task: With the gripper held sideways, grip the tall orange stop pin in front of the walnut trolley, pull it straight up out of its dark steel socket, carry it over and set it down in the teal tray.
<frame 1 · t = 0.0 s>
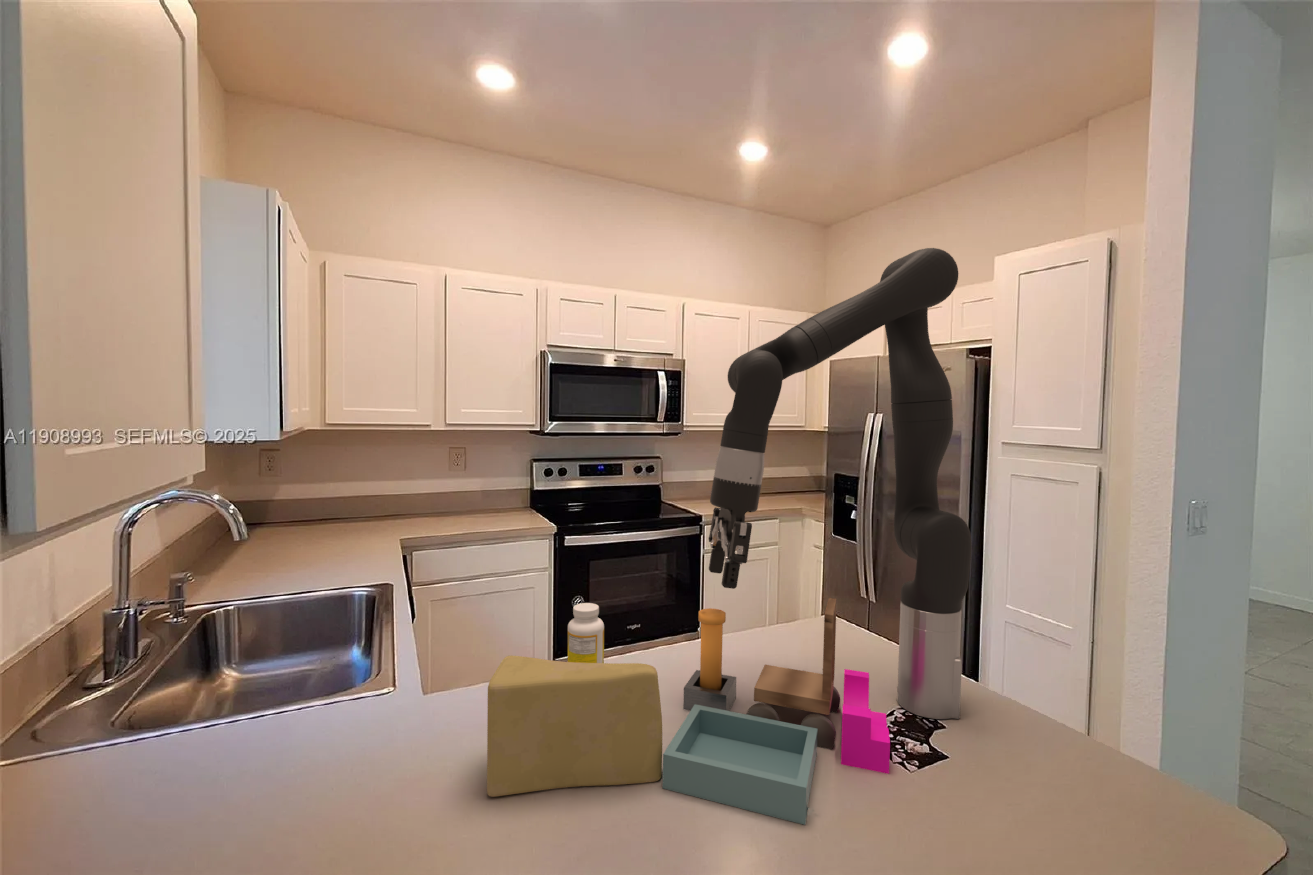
hand: (721, 579, 92), 22 cm above the worktop, tool pointing down, fingers open, 8 cm apart
supplement bottle: (585, 676, 107), on the worktop
toy block: (863, 743, 87), on the worktop
pin socket: (710, 709, 96), on the worktop
cheese: (578, 779, 77), on the worktop
trolley: (793, 725, 91), on the worktop
stop pin: (710, 703, 96), point 1 cm above the worktop, touching pin socket
tray: (742, 773, 79), on the worktop
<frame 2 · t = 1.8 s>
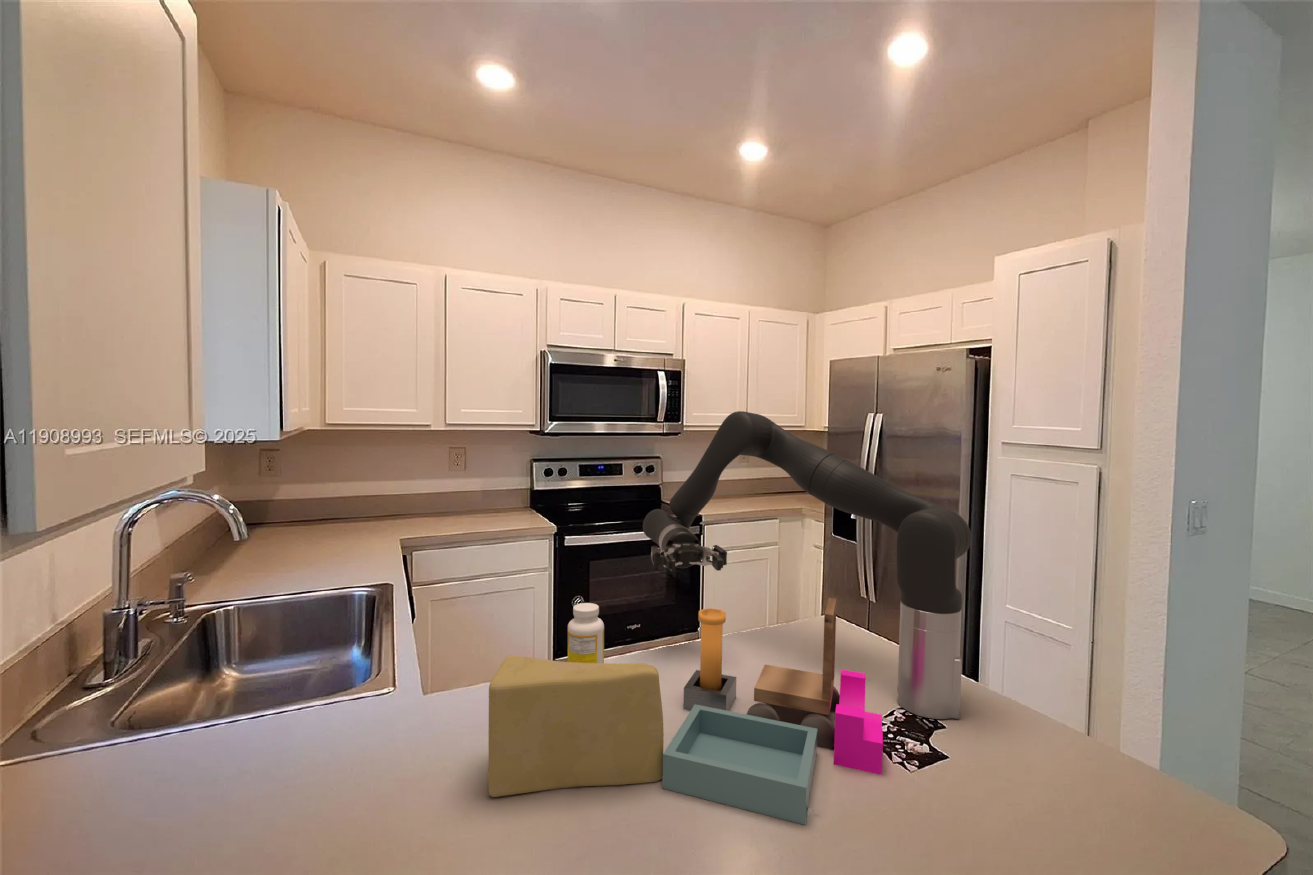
hand: (696, 565, 106), 21 cm above the worktop, tool horizontal, fingers open, 8 cm apart
toy block: (858, 743, 87), on the worktop, touching trolley
everything else where it was.
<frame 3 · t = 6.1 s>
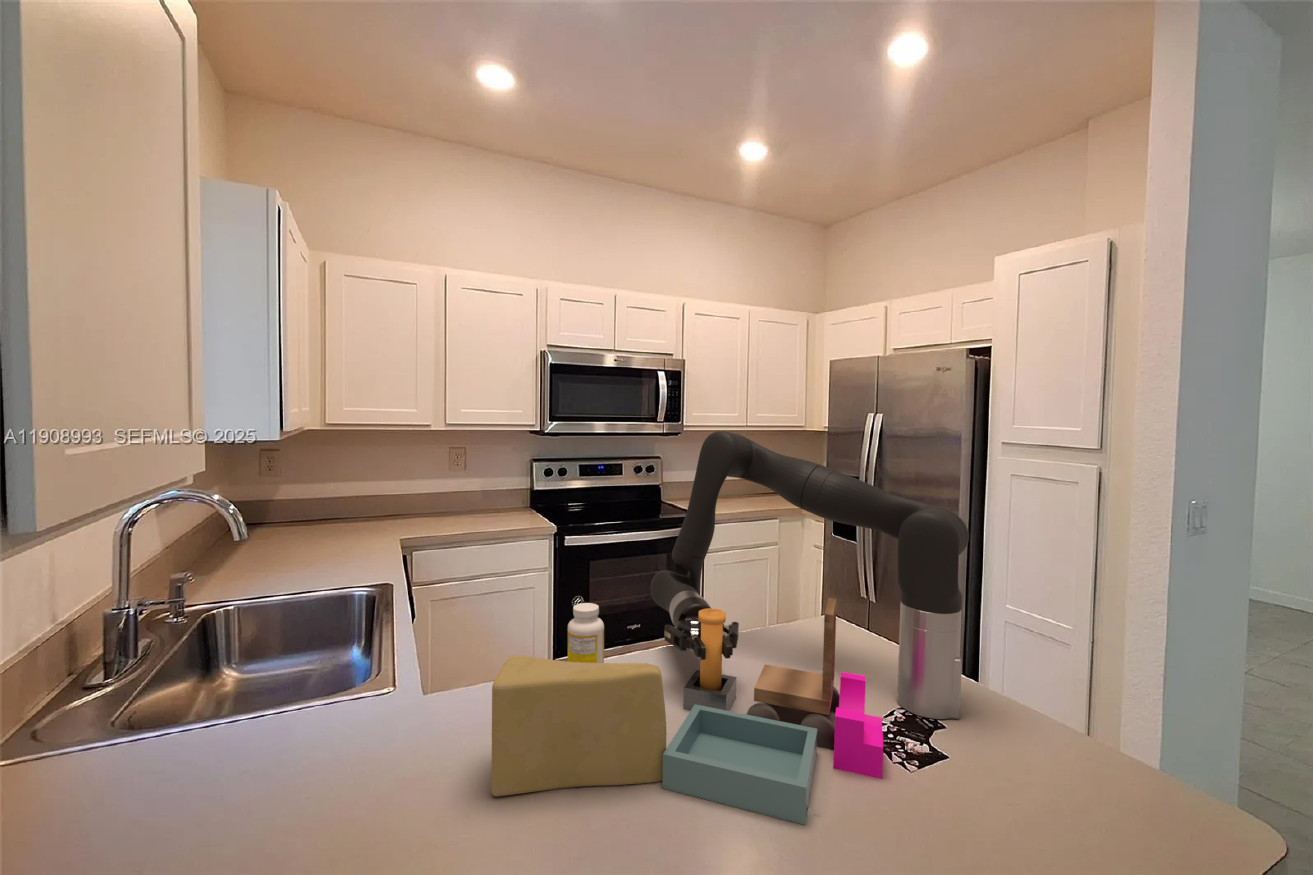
hand: (716, 653, 93), 10 cm above the worktop, tool horizontal, fingers closed on stop pin, 3 cm apart
toy block: (858, 747, 86), on the worktop
stop pin: (710, 703, 96), point 1 cm above the worktop, touching gripper, pin socket
everything else where it was.
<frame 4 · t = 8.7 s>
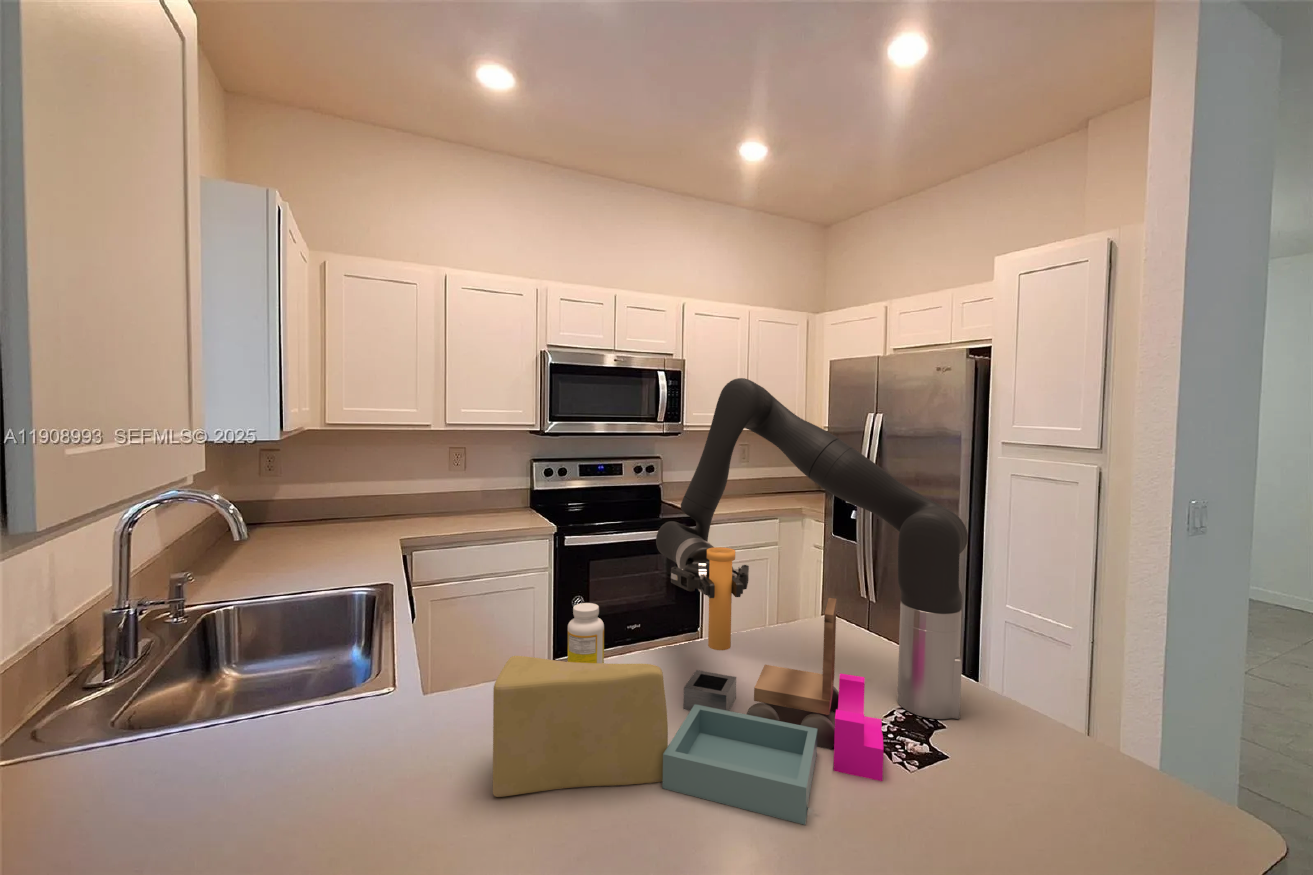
hand: (725, 591, 88), 22 cm above the worktop, tool horizontal, fingers closed on stop pin, 3 cm apart
cheese: (583, 779, 77), on the worktop, touching tray
stop pin: (719, 645, 91), point 12 cm above the worktop, touching gripper
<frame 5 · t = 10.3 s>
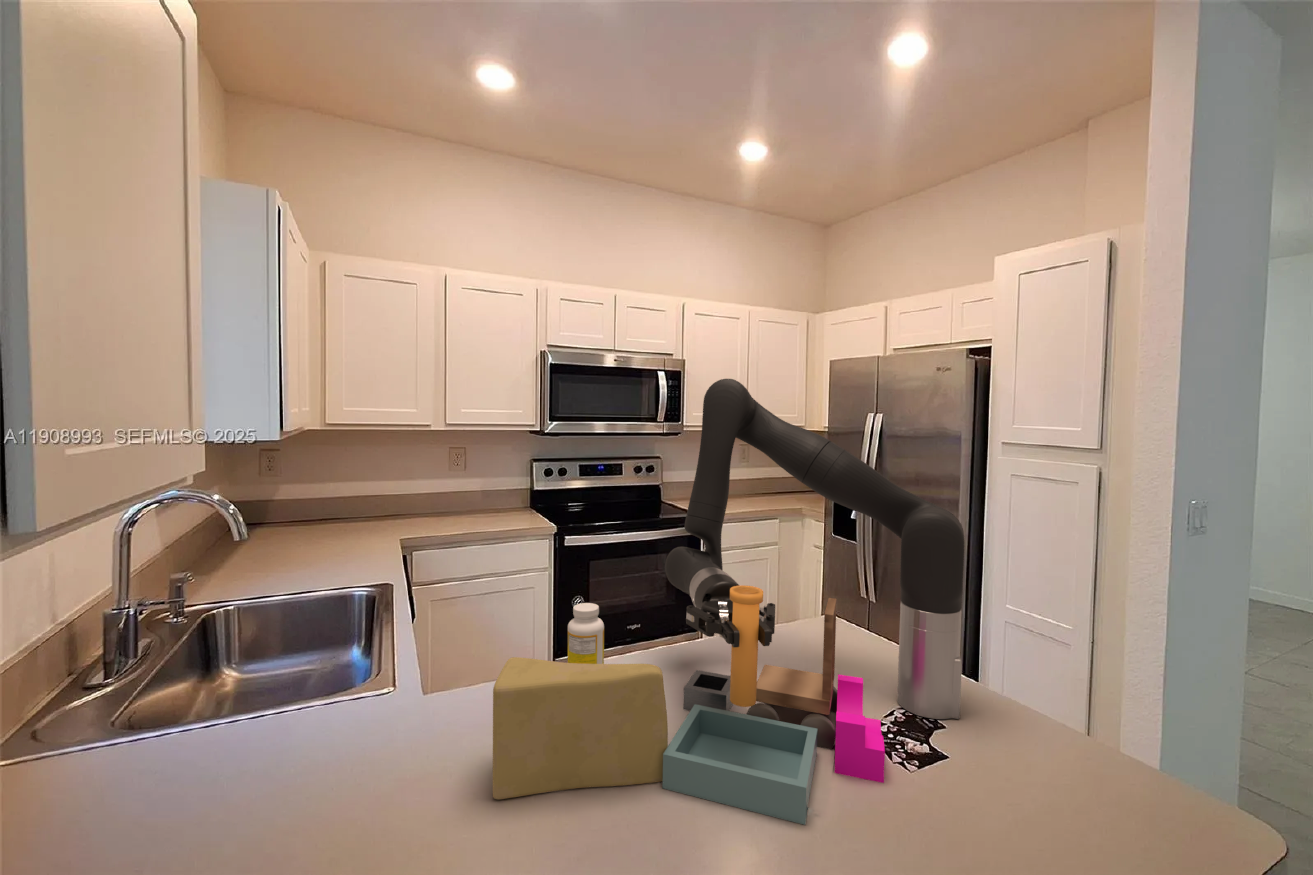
hand: (752, 639, 75), 19 cm above the worktop, tool horizontal, fingers closed on stop pin, 3 cm apart
cheese: (583, 780, 77), on the worktop
stop pin: (742, 700, 78), point 10 cm above the worktop, touching gripper
when the fingers open (12 cm above the worktop, at t = 11.8 s): stop pin drops 2 cm, resting on tray.
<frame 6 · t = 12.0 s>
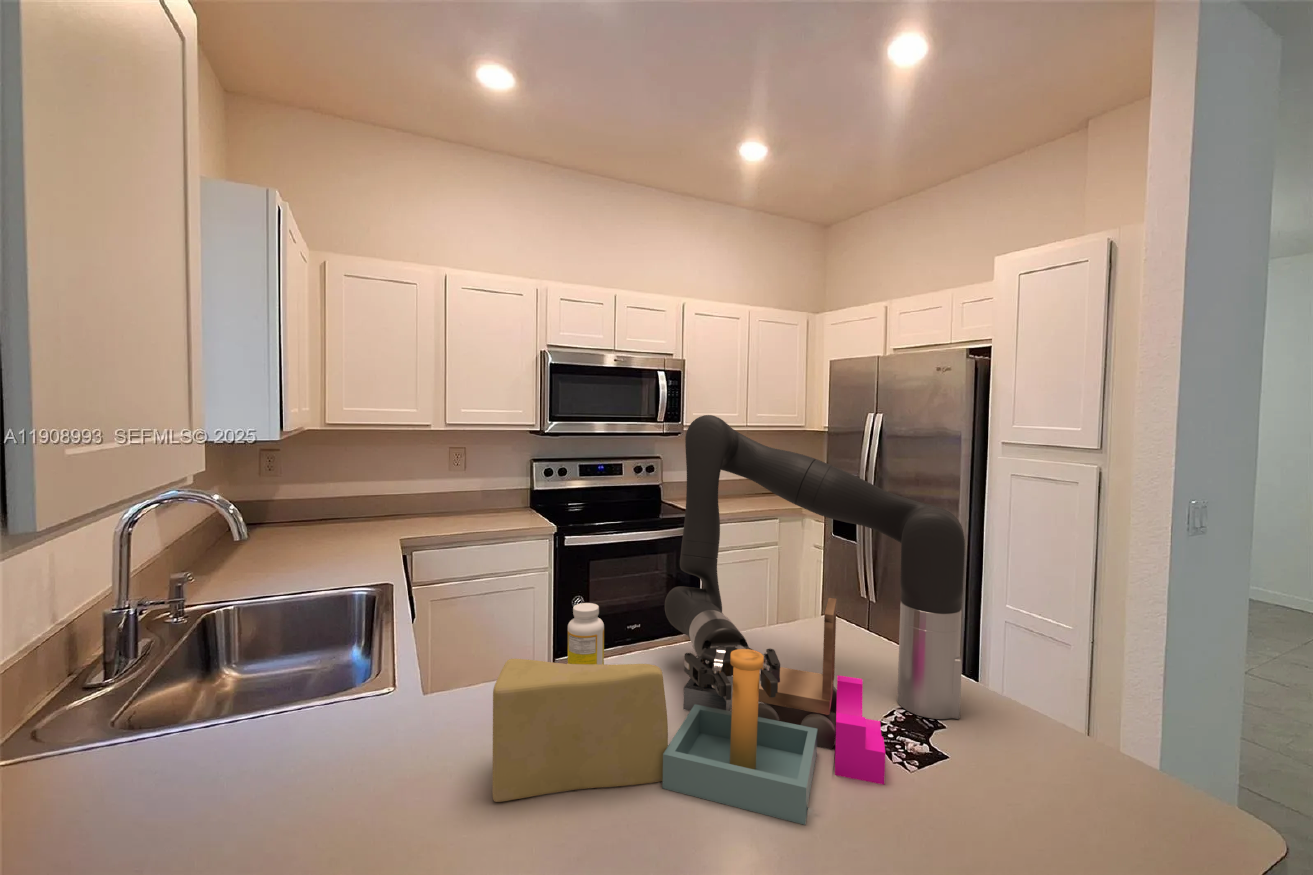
hand: (751, 691, 76), 12 cm above the worktop, tool horizontal, fingers open, 5 cm apart
toy block: (857, 752, 85), on the worktop, touching trolley
stop pin: (742, 765, 79), point 1 cm above the worktop, touching tray
everything else where it was.
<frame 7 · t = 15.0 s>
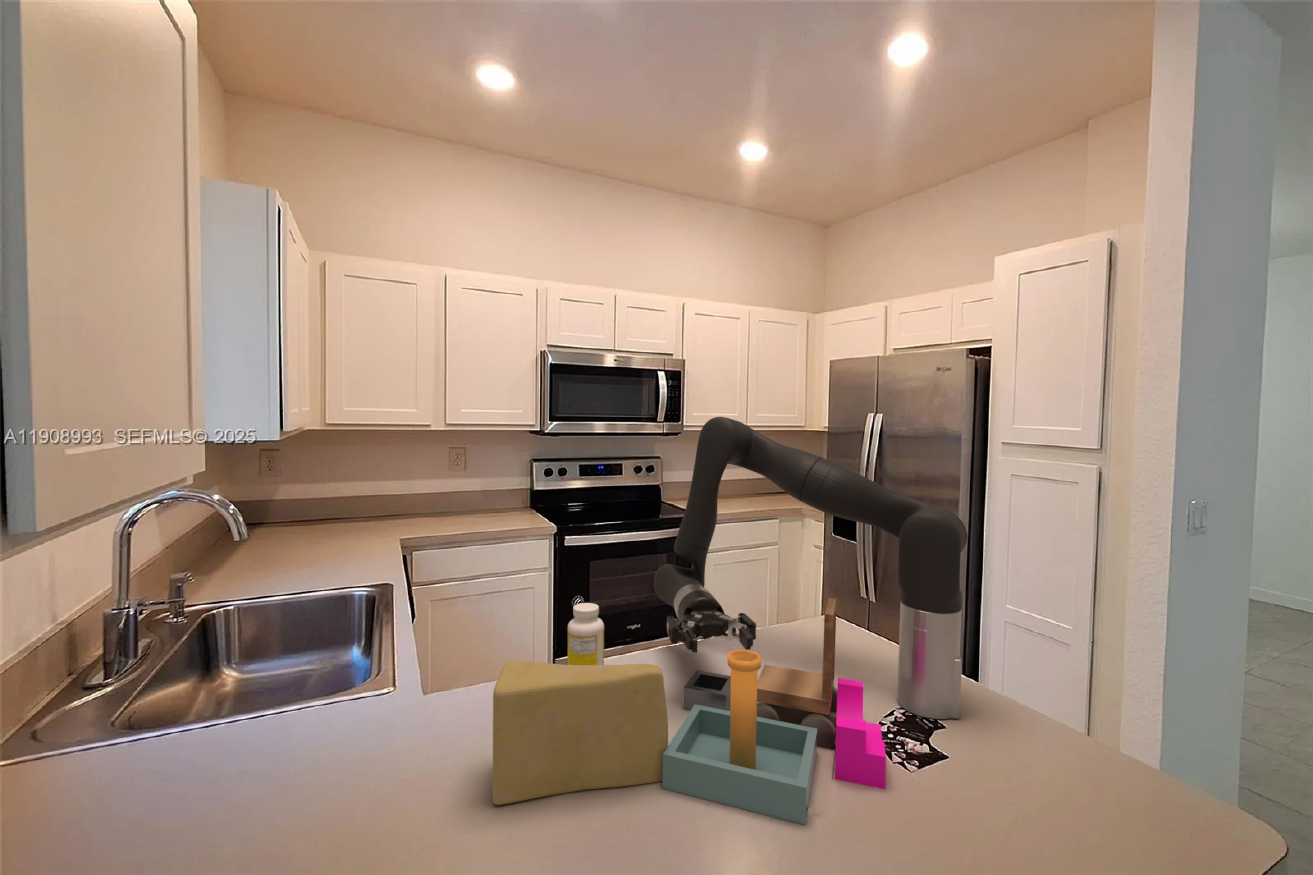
hand: (722, 645, 90), 13 cm above the worktop, tool horizontal, fingers open, 8 cm apart
toy block: (858, 755, 84), on the worktop
everything else where it was.
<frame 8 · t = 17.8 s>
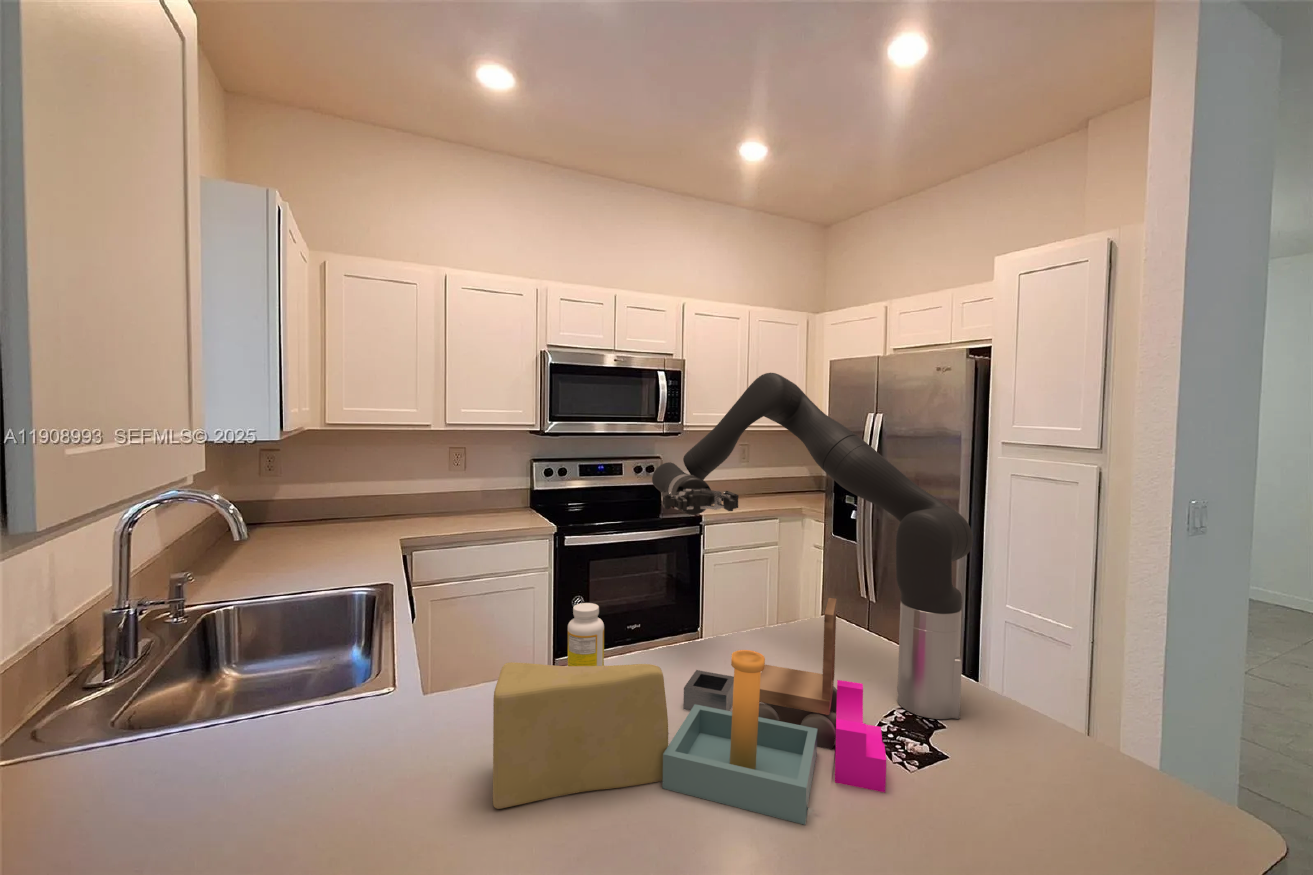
hand: (708, 505, 104), 32 cm above the worktop, tool horizontal, fingers open, 8 cm apart
at the end: stop pin inside the target area on the tray (0.1 cm from its centre), point 1.0 cm above the tray's base; the gripper is holding nothing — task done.
